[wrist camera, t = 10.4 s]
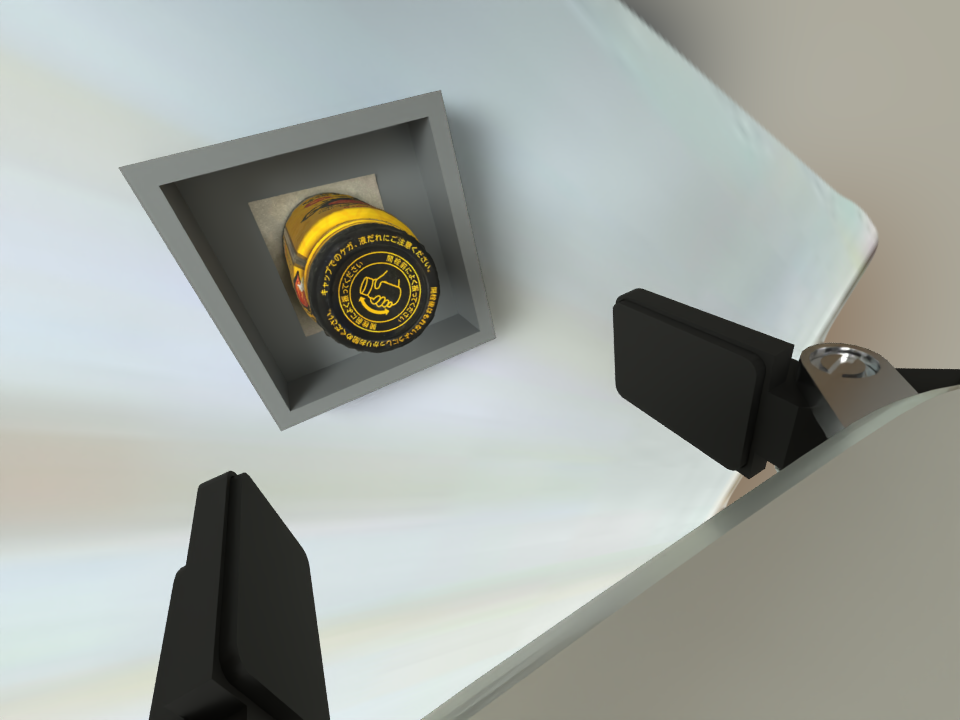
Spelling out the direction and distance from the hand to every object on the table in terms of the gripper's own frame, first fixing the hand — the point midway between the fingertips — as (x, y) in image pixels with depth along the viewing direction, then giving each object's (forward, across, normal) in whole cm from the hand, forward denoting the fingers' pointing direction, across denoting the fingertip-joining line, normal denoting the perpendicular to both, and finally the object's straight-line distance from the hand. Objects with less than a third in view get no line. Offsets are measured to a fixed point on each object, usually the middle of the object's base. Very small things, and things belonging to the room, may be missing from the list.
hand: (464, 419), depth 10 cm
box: (+21, 0, +1) cm, 21 cm away
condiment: (+20, 0, 0) cm, 20 cm away
